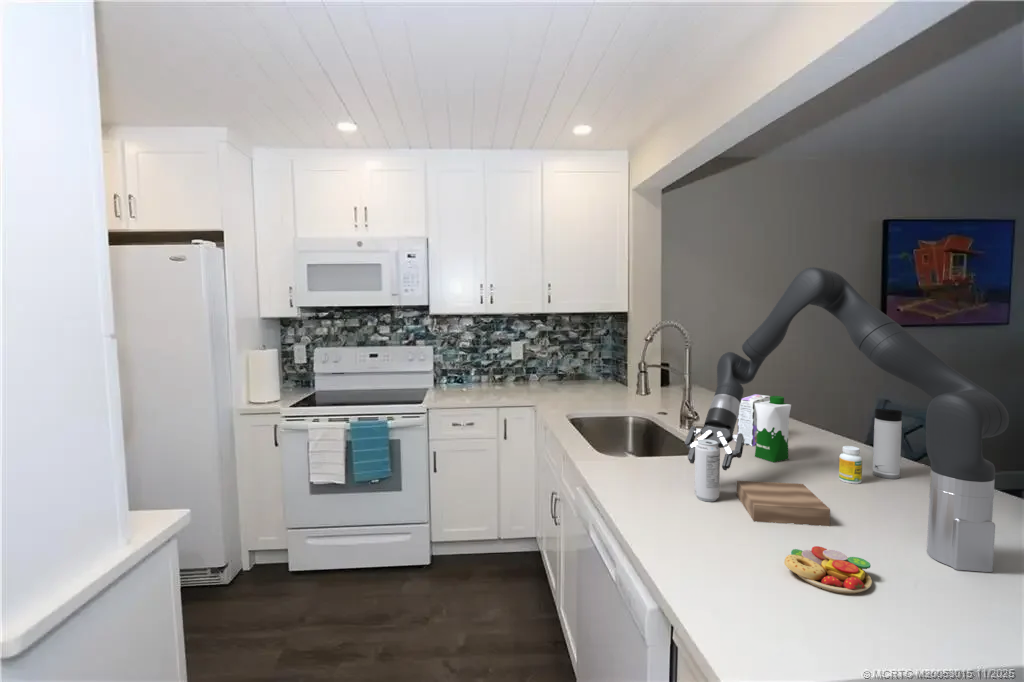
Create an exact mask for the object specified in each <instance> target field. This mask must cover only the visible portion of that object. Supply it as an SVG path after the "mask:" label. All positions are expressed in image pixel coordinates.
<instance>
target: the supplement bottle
mask: <svg viewBox="0 0 1024 682" xmlns="http://www.w3.org/2000/svg"><path fill="white" fill-rule="evenodd" d="M860 450H861V449H860V448H859V447H857V446H853V445H844V446H842V453H840V454H839V457H838V459H839V460H838V461H839V465H838V479H839V480H840V482H844V483H847V484H851V483H852V485H855V484H856V485H857V484H858V483H859V484H861V483H862V479H863V478H862V477H863V476H862V474H863V457H862V456H861V455H860V453H861V452H860Z"/></svg>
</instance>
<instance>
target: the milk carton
mask: <svg viewBox="0 0 1024 682" xmlns="http://www.w3.org/2000/svg"><path fill="white" fill-rule="evenodd" d="M769 396H770V401H766V402H760V403H755V408H756V413H757V441H756V445H755V452H754V457H755V458H758V457H759V459H761V458H762V460H764V459H765V460H764V461H768V462H771V463H778V462H782V461H786V460H785V459H787V460H789V424H790V413H791V408H792V404H789V403H785V397H784V396H781V395H769ZM781 460H782V461H781ZM777 461H778V462H777Z"/></svg>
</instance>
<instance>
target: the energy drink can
mask: <svg viewBox="0 0 1024 682" xmlns="http://www.w3.org/2000/svg"><path fill="white" fill-rule="evenodd" d="M717 444H718V443H717V442H716V441H714V440H708V439H702V440H698V443H697V445H696V447H695V461H694V495H695V496H696V498H697V499H698V500H700V501H702V502H709V503H712V502H715V501H717V500H718V498H720V479H721V477H720V476H721V474H720V473H721V471H720V467H721V466H720V465H721V462H720V461H721V448H719V446H718V445H717Z"/></svg>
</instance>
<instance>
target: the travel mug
mask: <svg viewBox="0 0 1024 682" xmlns="http://www.w3.org/2000/svg"><path fill="white" fill-rule="evenodd" d="M902 417H903V411H902V410H900V409H891V408H890V409H883V408H874V423H873V424H874V426H873V427H874V428H873V429H874V430H873V449H872V453H873V454H872V455H873V458H872V474H873V476H876V477H878V478H881V477H882V479H888V480H889V479H890V480H895V479H896V480H898V479H899V478H900V470H901V452H902V449H901V448H902V425H903V424H902V421H903V418H902Z"/></svg>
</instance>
